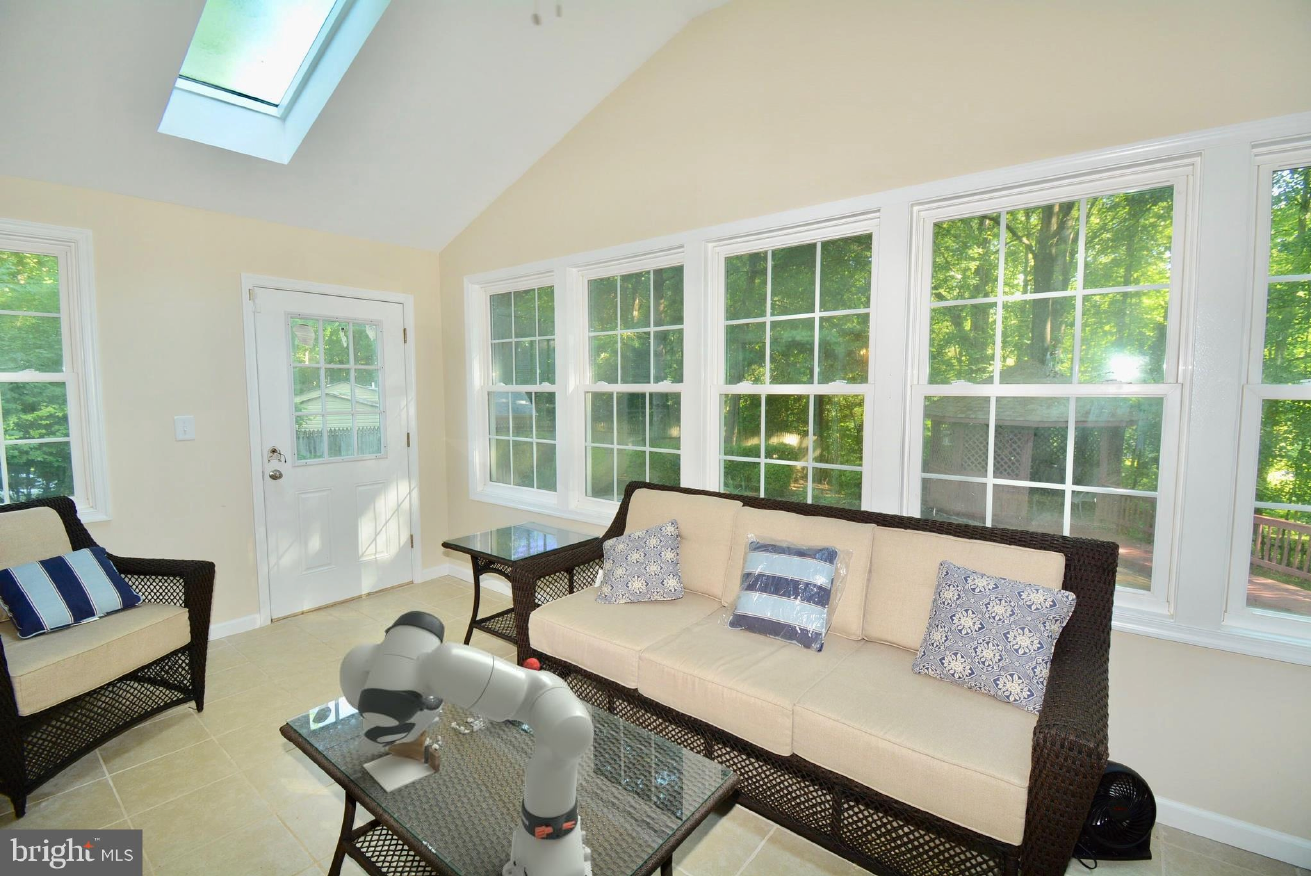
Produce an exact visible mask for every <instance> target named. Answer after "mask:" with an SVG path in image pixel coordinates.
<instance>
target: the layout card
mask: <svg viewBox="0 0 1311 876" xmlns="http://www.w3.org/2000/svg"><path fill="white" fill-rule="evenodd" d="M362 767H363V768H364V769H365V770H366V772H367V773H369V775H371V777H372V778H373V779H374V780H375V781H376V782H377V783H378V784H379V785H380V786H381V787H382V788H383V790H385V792H386V793H388V794H389V793H391V792H393V791H396V790H398V789H400V788H402V787H405V786H407V785H409V784H411V783H414V782H416V781H418V780H420V779H422V778H425V777H427V776H429V775H432V774H434V773H435V771H434V770H433V769H432V768H431V767H430V766H429V765H428V764H425V763H424V759H423V760H419V759H415V758H412V757H408V756H405V755H401V754H398V753H395V752H392V753H390V754H388V755H386V756H382V757H380V758H378V759H375V760H372V761H369V762H367V763H365V764H363V765H362Z"/></svg>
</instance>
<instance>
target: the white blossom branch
mask: <svg viewBox="0 0 1311 876" xmlns="http://www.w3.org/2000/svg"><path fill="white" fill-rule="evenodd" d="M477 716H478V717H479V720H476V721H475V719H474V718H472V717H471V718H470V717H468V718H467V720H466V721H467V723H470V725H471V726H472V732H473V733H475V732H476V731H479V730H480V729H482V728H483V727H485V725H486V723H484V719H483V718H484V717H483V716H481V715H478V714H477ZM450 727H451V728H453V729H458V731H459V733H460V734H465V735H468V734H470V729H468V730H467V729H465V726H464V727H463V726H461V727H460V726H458V725H457V722H456V721H454V722H452V723H451V726H450ZM434 736H437V740H438V741H437V742H438V743H437V744H436V743H434V744H433V745H432V749H434V750H436V749H437V750H438V749H439V747H440V746H441V745H442V744H443V743H442V741H441V740H442V736H441V735H436V734H435V735H434ZM429 743H432V739H430V738H429V737H427V738H426V741H425V746H426V745H430V744H429Z"/></svg>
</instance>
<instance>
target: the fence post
mask: <svg viewBox="0 0 1311 876" xmlns="http://www.w3.org/2000/svg"><path fill="white" fill-rule="evenodd" d="M432 746H433V745H432V744H428V745H425V747H424V763H425V764H428V765H429V766H430V767H431V768H432V769H433V770H434V771H435V772H434V773H435V774H436V773H439V772H440V771H441V754H440V753H439V752H438V751H436V749H435V748H434V749H432Z"/></svg>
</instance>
